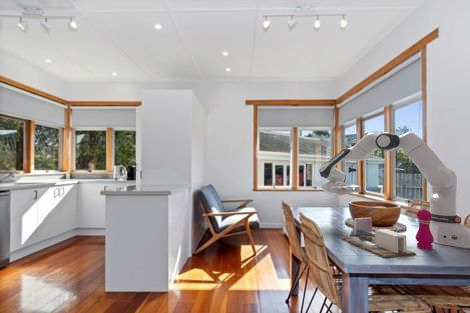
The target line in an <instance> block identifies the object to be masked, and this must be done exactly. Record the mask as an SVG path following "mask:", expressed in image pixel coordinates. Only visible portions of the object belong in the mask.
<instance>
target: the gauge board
mask: <svg viewBox="0 0 470 313" xmlns="http://www.w3.org/2000/svg"><path fill="white" fill-rule="evenodd" d="M352 237H353V236H342V237H341V239H340V240H342V241H343V242H347V243H348V244H351V245H353V246H356V247H358V248H361V249H362V250H365V251H367V252H370V253H372V254H373V255H376V256H379V257H381V258H383V259H389V258H397V257H399V258H400V257H408V256H416V255H417V253H416V252H414V251H412V250H409V249H407V248H406V251H407V252H402V251H399V250H398V253H394V252H392V251H389V250H387V249H384V248H382V247H379V246H377V248H369V247H367V246H364V245H362V244H360V243H357V242H355V241H353V240H352ZM366 241H368V242H371V243H373V244H376V238H373V237H366Z"/></svg>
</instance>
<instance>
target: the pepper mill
mask: <svg viewBox="0 0 470 313" xmlns="http://www.w3.org/2000/svg"><path fill="white" fill-rule="evenodd" d="M416 217H417V218H418V220H417V222H418V225H419V226H418V230H417V232H416V235H415V241H416V247H417V248H418V249H420V250H421V249H422V250H427V251H429V250H430V251H431V250H433V243H435V242H434V238H433V235H432V233H431V231H430V219H431V217H432V215H431V213H430V210H427V208H426V207H425V206H421V209H419V210H417V212H416Z"/></svg>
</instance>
